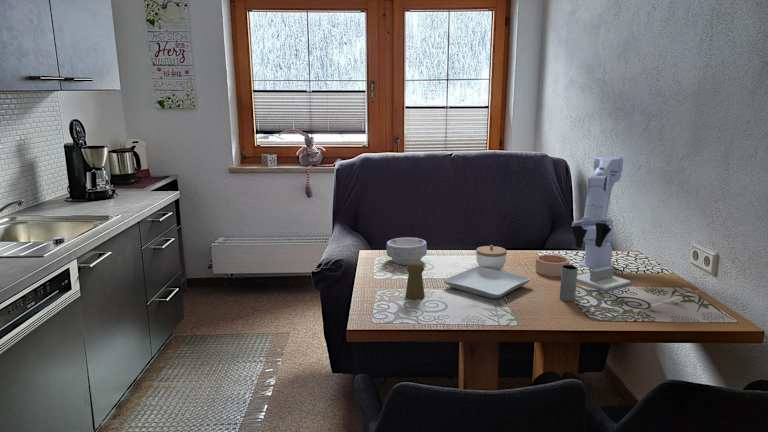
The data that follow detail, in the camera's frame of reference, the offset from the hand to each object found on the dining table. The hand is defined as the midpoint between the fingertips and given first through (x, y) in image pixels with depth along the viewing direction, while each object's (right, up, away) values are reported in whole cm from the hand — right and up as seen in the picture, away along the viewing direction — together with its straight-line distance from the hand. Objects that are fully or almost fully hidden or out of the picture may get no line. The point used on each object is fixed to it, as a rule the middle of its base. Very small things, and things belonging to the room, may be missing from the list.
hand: (588, 247), depth 180 cm
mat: (+5, -12, +2) cm, 13 cm away
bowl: (-8, -10, +13) cm, 18 cm away
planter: (-11, -16, -13) cm, 23 cm away
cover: (+5, -12, +2) cm, 13 cm away
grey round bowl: (-59, -7, +26) cm, 65 cm away
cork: (-58, -15, -10) cm, 61 cm away
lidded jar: (-29, -10, +15) cm, 35 cm away
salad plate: (-34, -14, -2) cm, 37 cm away
